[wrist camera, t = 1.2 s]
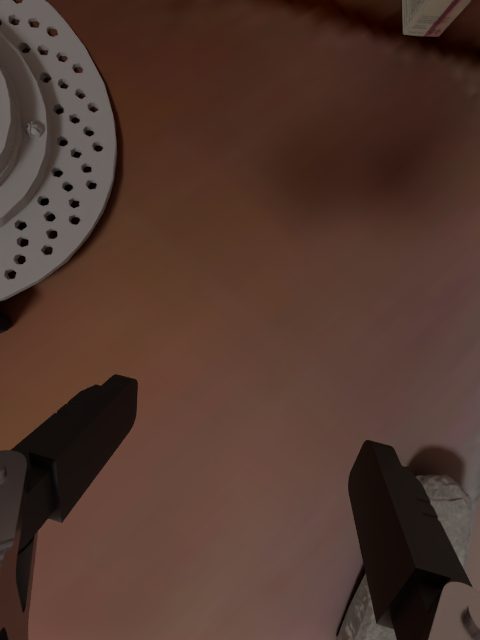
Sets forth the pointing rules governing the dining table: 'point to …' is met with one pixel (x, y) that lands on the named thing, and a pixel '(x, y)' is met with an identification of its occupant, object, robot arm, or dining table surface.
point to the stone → (454, 514)
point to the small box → (430, 16)
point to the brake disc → (48, 145)
